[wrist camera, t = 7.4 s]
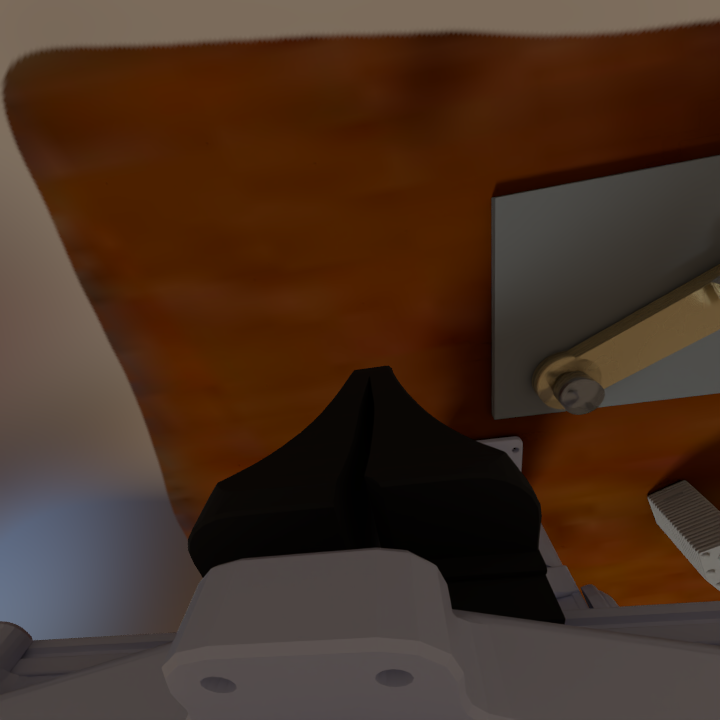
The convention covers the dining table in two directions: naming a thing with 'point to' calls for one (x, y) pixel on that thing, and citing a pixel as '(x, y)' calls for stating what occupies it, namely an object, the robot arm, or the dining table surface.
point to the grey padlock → (690, 526)
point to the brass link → (637, 338)
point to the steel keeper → (716, 285)
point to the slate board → (600, 276)
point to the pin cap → (578, 392)
